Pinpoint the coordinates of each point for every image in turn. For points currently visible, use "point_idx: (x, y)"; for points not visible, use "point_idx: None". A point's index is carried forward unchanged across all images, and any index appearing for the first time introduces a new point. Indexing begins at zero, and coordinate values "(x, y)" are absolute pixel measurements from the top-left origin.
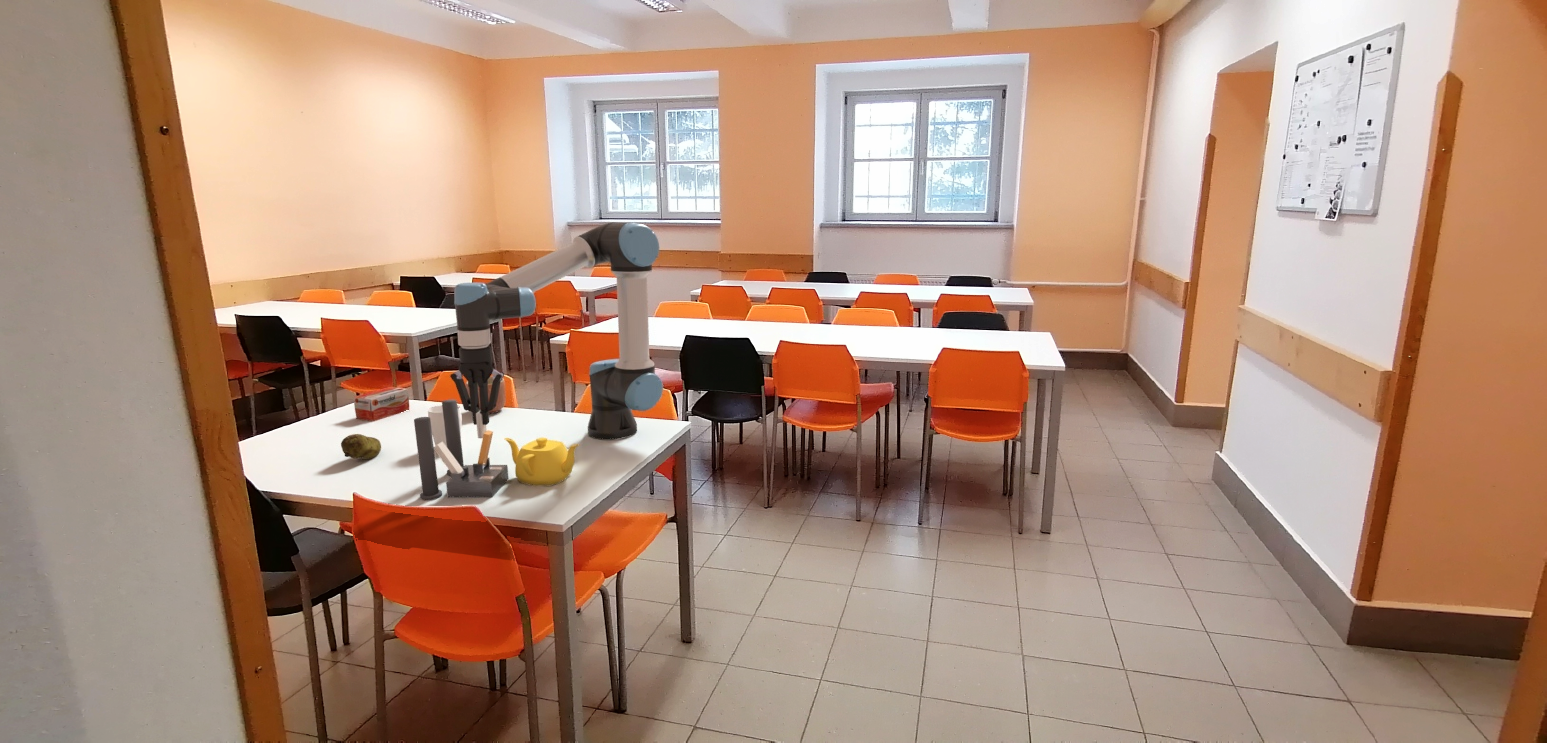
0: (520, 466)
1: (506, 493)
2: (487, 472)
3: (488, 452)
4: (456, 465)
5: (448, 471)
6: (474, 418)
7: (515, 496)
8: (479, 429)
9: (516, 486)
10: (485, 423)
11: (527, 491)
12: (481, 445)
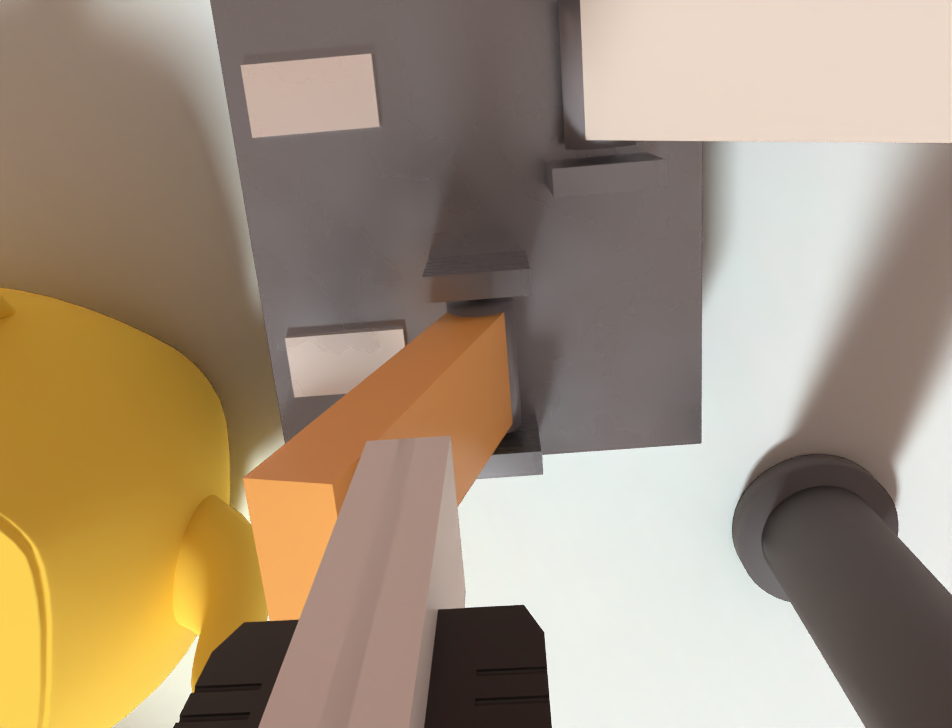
0: (79, 373)
1: (173, 102)
2: (382, 260)
3: None
4: (645, 63)
5: (878, 502)
6: (503, 714)
7: (55, 35)
8: (394, 517)
9: (171, 266)
10: (258, 638)
11: (14, 159)
12: (415, 396)
